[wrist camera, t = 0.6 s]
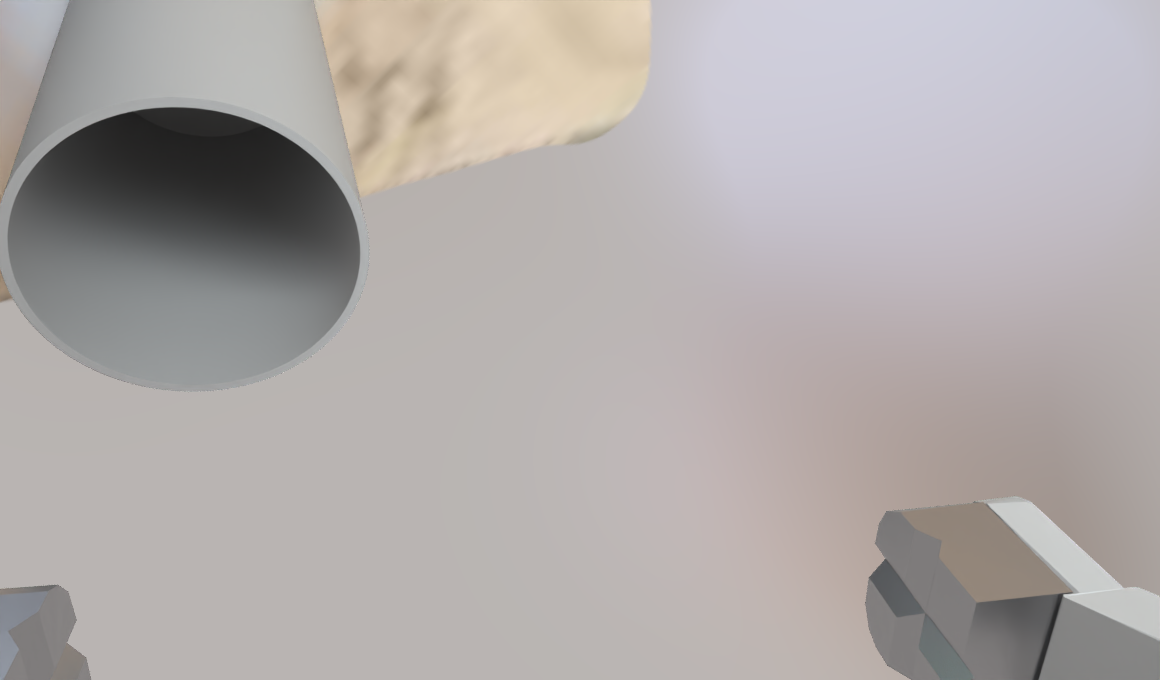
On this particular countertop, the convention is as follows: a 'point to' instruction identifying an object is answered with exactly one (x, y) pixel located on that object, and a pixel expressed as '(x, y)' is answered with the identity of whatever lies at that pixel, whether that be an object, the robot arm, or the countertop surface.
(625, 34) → the countertop surface
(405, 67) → the countertop surface
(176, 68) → the cylinder vase
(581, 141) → the countertop surface
